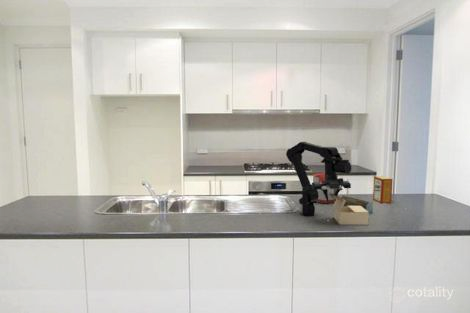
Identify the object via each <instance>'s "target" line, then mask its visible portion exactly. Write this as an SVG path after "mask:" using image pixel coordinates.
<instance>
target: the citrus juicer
mask: <svg viewBox="0 0 470 313" xmlns="http://www.w3.org/2000/svg"><path fill="white" fill-rule="evenodd" d="M324 173H325V170H324V171H323V172H322V173H313V174H312V182H320V183H321V184H325V175H324ZM337 178H339V175H337ZM327 190H328V202H327V200H326V198H325V195H324V193H323V191H322V190H320V189H317V191H318V195H319V197H318V200H317V201H316V203H321V204H322V203H323V204H332V203H335V202H334V199H333V198H332V197H331V196H330V195H329V193H330V192H332V193H333V194H334V189H330V188H329V187H327Z"/></svg>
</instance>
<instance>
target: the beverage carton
mask: <svg viewBox="0 0 470 313" xmlns="http://www.w3.org/2000/svg"><path fill="white" fill-rule="evenodd" d="M341 197H342V198H343V199H344V200H346V201H345V204H344V206H343V207H347V206H361V207H363V208H364V209H365V210H367V211H368V212H369V214H371V213H373V207H374V206H373V204H374V203H373V202H371V201H367V200H363V199H358V198H355V197H354V198H353V197H349V196H345V195H343V196H341Z"/></svg>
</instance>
